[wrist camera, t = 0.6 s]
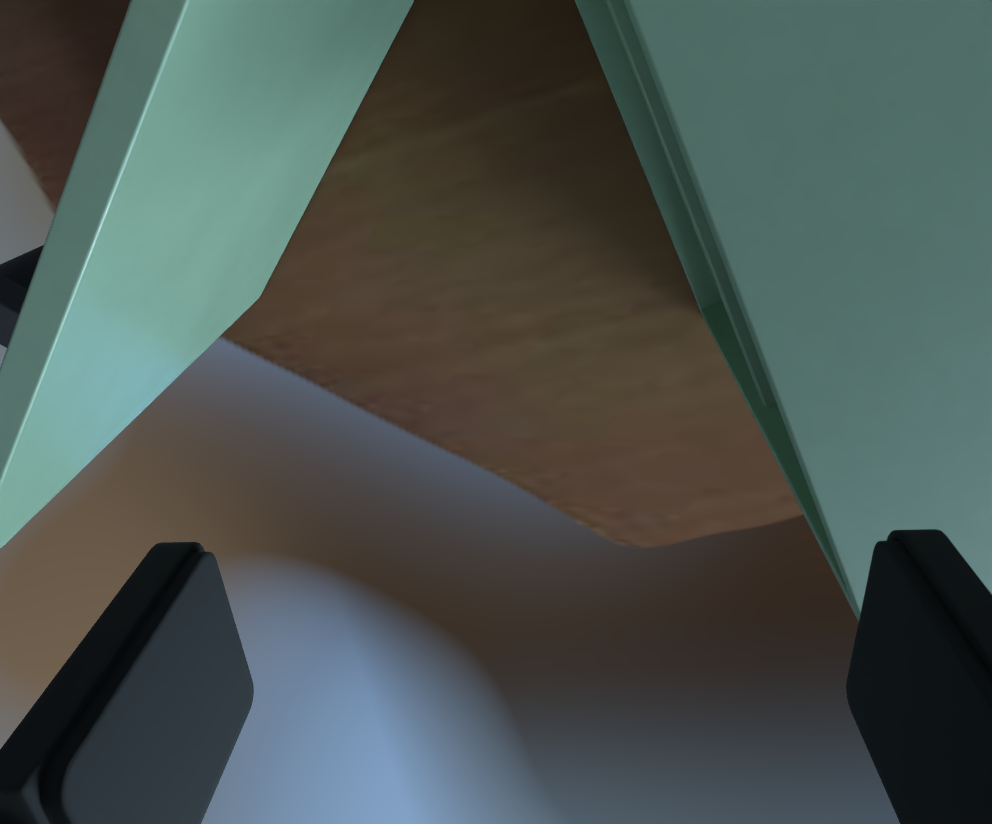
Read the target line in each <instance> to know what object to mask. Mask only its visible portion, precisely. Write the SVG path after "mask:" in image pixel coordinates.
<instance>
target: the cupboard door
mask: <svg viewBox="0 0 992 824" xmlns="http://www.w3.org/2000/svg"><path fill="white" fill-rule="evenodd" d="M413 2H414V0H131V1H130V4H129V7H128V10H127V12H126V15H125V18H124V21H123V24H122V26H121V29H120V32H119V35H118V38H117V41H116V43H115V46H114V49H113V52H112V55H111V57H110V60H109V63H108V66H107V69H106V72H105V74H104V77H103V80H102V83H101V86H100V88H99V91H98V94H97V97H96V100H95V103H94V105H93V108H92V111H91V114H90V117H89V119H88V122H87V125H86V128H85V131H84V134H83V136H82V139H81V142H80V145H79V148H78V150H77V153H76V156H75V159H74V162H73V164H72V167H71V170H70V173H69V176H68V179H67V181H66V184H65V187H64V190H63V193H62V195H61V198H60V201H59V204H58V207H57V210H56V212H55V215H54V218H53V221H52V224H51V226H50V229H49V232H48V235H47V238H46V241H45V243H44V245H43V246H40V247H38V248H36V249H34V250H32V251H30V252H27V253H25V254H23V255H21V256H18V257H16V258H14V259H12V260H9V261H7V262H5V263H3V264H1V265H0V344H1V345H3V346H5V347H6V348H7V350H6V353H5V356H4V359H3V362H2V365H1V367H0V548H1V547H2V546H3V545H4V544H6V543H7V542H8V541H9V540H10V539H11V538H12V537H13V536H14V535H15V534H16V533H17V532H18V531H19V530H20V529H21V528H22V527H23V526H24V525H25V524H26V523H27V522H28V521H29V520H30V519H31V518H32V517H33V516H34V515H35V514H36V513H37V512H39V511H40V509H42V508H43V507H44V506H45V504H47V503H48V502H49V501H50V500H51V499H52V498H53V497H54V496H55V495H56V494H57V493H58V492H59V491H60V490H61V489H62V488H63V487H64V486H65V485H66V484H67V483H68V482H70V481H71V480H72V478H74V477H75V476H76V475H77V474H78V473H79V472H80V471H81V470H82V469H83V468H84V467H85V466H86V465H87V464H88V463H89V462H90V461H91V460H92V459H93V458H94V457H95V456H96V455H97V454H98V453H99V452H100V451H101V450H102V449H104V448H105V447H106V445H108V444H109V443H110V442H111V441H112V440H113V439H114V438H115V437H116V436H117V435H118V434H119V433H120V432H121V431H122V430H123V429H124V428H125V427H126V426H127V425H128V424H129V423H130V422H131V421H132V420H133V419H134V418H135V417H137V416H138V415H139V414H140V413H141V412H142V411H143V410H144V409H145V408H146V407H147V406H148V405H149V404H150V403H151V402H152V401H153V400H154V399H155V398H156V397H157V396H158V395H159V394H160V393H161V392H162V391H163V390H164V389H165V388H166V387H167V386H169V384H171V383H172V382H173V381H174V380H175V379H176V378H177V377H178V376H179V375H180V374H181V373H182V372H183V371H184V370H185V369H186V368H187V367H188V366H189V365H190V364H191V363H192V362H193V361H194V360H195V359H196V358H197V357H198V356H199V355H201V354H202V353H203V352H204V351H205V350H206V349H207V348H208V347H209V346H210V345H211V344H212V343H213V342H214V341H215V340H216V339H217V338H218V337H219V336H220V335H221V334H222V333H223V332H224V331H225V330H226V329H227V328H228V327H229V326H231V325H232V324H233V323H234V322H235V321H236V320H237V319H238V318H239V317H240V316H241V315H242V314H243V313H244V312H245V311H246V310H247V309H248V308H249V307H250V306H251V305H252V304H253V303H254V302H255V301H256V300H257V299H258V298H259V297H260V295H261V294H262V292H263V290H264V288H265V286H266V284H267V282H268V280H269V278H270V276H271V274H272V272H273V271H274V269H275V267H276V265H277V263H278V261H279V259H280V257H281V255H282V253H283V251H284V249H285V248H286V246H287V244H288V242H289V240H290V238H291V236H292V234H293V232H294V230H295V228H296V226H297V224H298V223H299V221H300V219H301V217H302V215H303V213H304V211H305V209H306V207H307V205H308V203H309V201H310V200H311V198H312V196H313V194H314V192H315V190H316V188H317V186H318V184H319V182H320V180H321V178H322V177H323V175H324V173H325V171H326V169H327V167H328V165H329V163H330V161H331V159H332V157H333V155H334V153H335V152H336V150H337V148H338V146H339V144H340V142H341V140H342V138H343V136H344V134H345V132H346V130H347V129H348V127H349V125H350V123H351V121H352V119H353V117H354V115H355V113H356V111H357V109H358V107H359V106H360V104H361V102H362V100H363V98H364V96H365V94H366V92H367V90H368V88H369V86H370V84H371V83H372V81H373V79H374V77H375V75H376V73H377V71H378V69H379V67H380V65H381V63H382V61H383V59H384V58H385V56H386V54H387V52H388V50H389V48H390V46H391V44H392V42H393V40H394V38H395V36H396V35H397V33H398V31H399V29H400V27H401V25H402V23H403V21H404V19H405V17H406V15H407V13H408V12H409V10H410V8H411V6H412V4H413Z"/></svg>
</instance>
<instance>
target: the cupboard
mask: <svg viewBox="0 0 992 824" xmlns="http://www.w3.org/2000/svg"><path fill="white" fill-rule="evenodd" d="M575 3H576V5H577V7H578V10H579V12H580V15H581V17H582V20H583V22H584V25H585V27H586V30H587V32H588V35H589V37H590V40H591V42H592V45H593V47H594V49H595V52H596V54H597V57H598V59H599V62H600V64H601V67H602V69H603V72H604V74H605V77H606V79H607V82H608V84H609V86H610V89H611V91H612V94H613V96H614V99H615V101H616V104H617V106H618V109H619V111H620V114H621V116H622V119H623V121H624V124H625V126H626V128H627V131H628V133H629V136H630V138H631V141H632V143H633V146H634V148H635V151H636V153H637V156H638V158H639V161H640V163H641V165H642V168H643V170H644V173H645V175H646V178H647V180H648V183H649V185H650V188H651V190H652V193H653V195H654V198H655V200H656V203H657V205H658V207H659V210H660V212H661V215H662V217H663V220H664V222H665V225H666V227H667V230H668V232H669V235H670V237H671V240H672V242H673V245H674V247H675V249H676V252H677V254H678V257H679V259H680V262H681V264H682V267H683V269H684V272H685V274H686V277H687V279H688V282H689V284H690V286H691V289H692V291H693V294H694V296H695V299H696V301H697V304H698V306H699V309H700V311H701V314H702V316H703V319H704V321H705V322H706V324H707V326H708V328H709V330H710V332H711V334H712V336H713V338H714V340H715V342H716V344H717V346H718V348H719V350H720V352H721V354H722V356H723V358H724V360H725V362H726V363H727V365H728V367H729V369H730V371H731V373H732V375H733V377H734V379H735V381H736V383H737V385H738V387H739V389H740V391H741V393H742V395H743V397H744V399H745V401H746V403H747V404H748V406H749V408H750V410H751V412H752V414H753V416H754V418H755V420H756V422H757V424H758V426H759V428H760V430H761V432H762V434H763V436H764V438H765V440H766V442H767V444H768V445H769V447H770V449H771V451H772V453H773V455H774V457H775V459H776V461H777V463H778V465H779V467H780V469H781V471H782V473H783V475H784V477H785V479H786V481H787V483H788V485H789V486H790V488H791V490H792V492H793V494H794V496H795V498H796V500H797V502H798V504H799V506H800V508H801V510H802V512H803V514H804V516H805V518H806V520H807V521H808V524H809V526H810V527H811V529H812V531H813V533H814V535H815V537H816V539H817V541H818V543H819V545H820V547H821V549H822V551H823V553H824V555H825V557H826V559H827V561H828V562H829V565H830V566H831V568H832V570H833V572H834V574H835V576H836V578H837V580H838V582H839V584H840V586H841V588H842V590H843V592H844V594H845V596H846V598H847V600H848V602H849V603H850V606H851V607H852V609H853V611H854V613H855V615H856V617H857V619H858V621H859V619H860V614H861V609H862V604H863V599H864V594H865V589H866V584H867V580H868V575H869V570H870V565H871V560H872V555H873V550H874V547H875V545H876V543H877V542H879V541H887V538H888V535H889V534H890V533H891V531H894V530H920V529H937V530H940V531H942V532H943V533H944V534H945V535H946V536H947V537H948V538H949V540H950V541H951V542H952V544H953V545H954V546H955V547H956V549H957V550H958V551H959V553H960V554H961V555H962V557H963V558H964V559H965V560H966V562H967V563H968V564H969V566H970V567H971V568H972V569H973V571H974V572H975V573H976V575H977V576H978V577H979V579H980V580H981V581H982V582H983V584H984V585H985V586H986V588H987V589H988V590H989V591H990V593H991V594H992V0H575Z"/></svg>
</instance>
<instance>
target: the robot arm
mask: <svg viewBox="0 0 992 824" xmlns="http://www.w3.org/2000/svg"><path fill="white" fill-rule="evenodd" d="M846 688H847V698H848V703H849V706H850V709H851V712H852V714H853V716H854V719H855V721H856V723H857V726H858V728H859V730H860V733H861V735H862V737H863V739H864V741H865V744H866V746H867V749H868V751H869V753H870V756H871V758H872V760H873V762H874V765H875V767H876V769H877V771H878V774H879V776H880V778H881V780H882V783H883V785H884V787H885V790H886V792H887V794H888V797H889V799H890V801H891V803H892V806H893V808H894V810H895V812H896V815H897V817H898V819H899V822H900V824H992V594H991V593H990V591H989V590H988V589H987V588H986V586H985V585H984V584H983V582H982V581H981V580H980V579H979V577H978V576H977V575H976V573H975V572H974V571H973V569H972V568H971V567H970V566H969V564H968V563H967V562H966V560H965V559H964V558H963V557H962V555H961V554H960V553H959V551H958V550H957V549H956V547H955V546H954V545H953V544H952V542H951V541H950V540H949V538H948V537H947V536H946V535H945V534H944V533H943V532H942V531H940V530H937V529H920V530H894V531H891V533H890V534H889V535H888V538H887V541H879V542H877V543H876V545H875V547H874V550H873V555H872V560H871V565H870V570H869V575H868V580H867V584H866V589H865V594H864V599H863V604H862V609H861V614H860V619H859V624H858V629H857V634H856V639H855V644H854V648H853V653H852V658H851V663H850V669H849V673H848V678H847V685H846ZM253 693H254V689H253V681H252V678H251V675H250V671H249V668H248V665H247V661H246V658H245V654H244V651H243V648H242V644H241V641H240V638H239V634H238V631H237V628H236V624H235V621H234V618H233V614H232V611H231V608H230V604H229V601H228V598H227V594H226V591H225V588H224V584H223V581H222V578H221V574H220V571H219V568H218V564H217V561H216V558H215V556H214V555H213V554H212V553H211V552H205V551H204V548H203V547H202V546H201V545H200V543H197V542H177V543H176V542H175V543H158V544H156V545H155V546H154V547H152V548H151V550H150V551H149V552H148V554H147V555H146V556H145V558H144V559H143V560H142V562H141V563H140V564H139V566H138V567H137V568H136V570H135V571H134V572H133V574H132V575H131V576H130V578H129V579H128V580H127V582H126V583H125V584H124V586H123V587H122V588H121V590H120V591H119V593H118V594H117V595H116V596H115V598H114V599H113V600H112V602H111V603H110V604H109V606H108V607H107V608H106V610H105V611H104V612H103V614H102V615H101V616H100V618H99V619H98V620H97V622H96V623H95V624H94V626H93V627H92V628H91V630H90V631H89V632H88V634H87V635H86V636H85V638H84V639H83V640H82V642H81V643H80V644H79V646H78V647H77V648H76V650H75V651H74V652H73V654H72V655H71V656H70V658H69V659H68V660H67V662H66V663H65V664H64V666H63V667H62V668H61V670H60V671H59V672H58V673H57V675H56V676H55V677H54V679H53V680H52V682H51V683H50V684H49V685H48V687H47V688H46V689H45V691H44V692H43V694H42V695H41V696H40V698H39V699H38V700H37V702H36V703H35V704H34V705H33V707H32V708H31V710H30V711H29V712H28V713H27V715H26V716H25V718H24V719H23V720H22V722H21V723H20V724H19V725H18V727H17V728H16V729H15V731H14V732H13V734H12V735H11V736H10V738H9V739H8V740H7V742H6V743H5V744H4V745H3V747H2V748H1V749H0V824H201V822H202V820H203V817H204V815H205V813H206V810H207V808H208V806H209V804H210V801H211V799H212V797H213V794H214V792H215V790H216V787H217V785H218V783H219V780H220V778H221V776H222V773H223V771H224V769H225V766H226V764H227V762H228V760H229V757H230V755H231V753H232V750H233V748H234V746H235V743H236V741H237V739H238V736H239V734H240V732H241V729H242V727H243V725H244V722H245V720H246V718H247V716H248V713H249V711H250V708H251V705H252V701H253Z"/></svg>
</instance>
